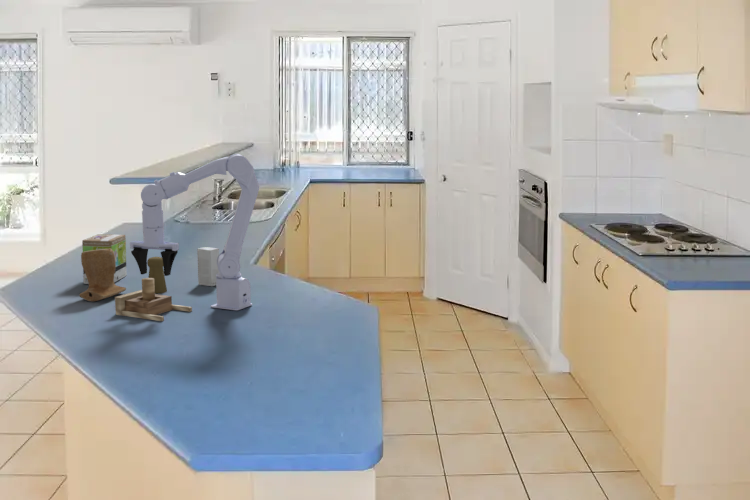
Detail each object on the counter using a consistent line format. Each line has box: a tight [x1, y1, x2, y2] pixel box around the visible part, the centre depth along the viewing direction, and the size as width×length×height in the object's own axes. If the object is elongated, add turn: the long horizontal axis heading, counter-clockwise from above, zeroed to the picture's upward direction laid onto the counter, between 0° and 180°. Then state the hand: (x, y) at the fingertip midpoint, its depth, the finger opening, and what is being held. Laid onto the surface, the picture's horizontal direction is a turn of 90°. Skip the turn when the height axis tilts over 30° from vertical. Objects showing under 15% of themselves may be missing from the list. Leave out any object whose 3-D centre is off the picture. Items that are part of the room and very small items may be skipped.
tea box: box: [82, 233, 128, 285], centre depth 277 cm, size 15×10×15 cm, turn 179°
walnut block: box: [125, 294, 173, 316], centre depth 234 cm, size 8×10×4 cm
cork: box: [147, 256, 168, 295], centre depth 260 cm, size 6×6×11 cm
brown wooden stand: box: [78, 248, 127, 303], centre depth 251 cm, size 15×12×15 cm
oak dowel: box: [141, 277, 155, 301], centre depth 233 cm, size 3×3×7 cm
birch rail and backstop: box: [114, 289, 193, 322], centre depth 233 cm, size 16×13×5 cm
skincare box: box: [196, 246, 220, 287], centre depth 270 cm, size 6×4×12 cm
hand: (155, 274), depth 235 cm, fingers open, 7 cm apart
